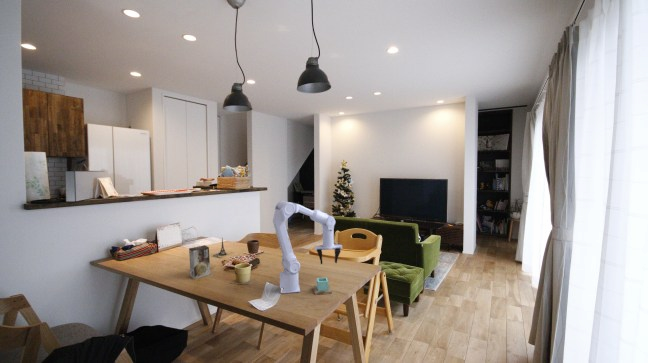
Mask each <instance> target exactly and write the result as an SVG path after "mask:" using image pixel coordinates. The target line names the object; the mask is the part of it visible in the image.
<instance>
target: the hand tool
mask: <svg viewBox="0 0 648 363" xmlns="http://www.w3.org/2000/svg"><path fill="white" fill-rule="evenodd" d="M247 263H249V264H252V265H254V266H256V265H259V264H260V263H261V261H260V258H258V257H254V258H253V259H252V260H250V261H249V260H248V262H247Z"/></svg>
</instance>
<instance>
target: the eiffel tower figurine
mask: <svg viewBox="0 0 648 363" xmlns="http://www.w3.org/2000/svg"><path fill="white" fill-rule="evenodd" d="M227 255H228V254H227V252H226V250H225V248H224V240H223V237H221V248H220V250H219V252H218V253H215V254H213V255H212V257H213V258H217V259H221V257H223V256H227Z"/></svg>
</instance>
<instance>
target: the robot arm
mask: <svg viewBox="0 0 648 363" xmlns="http://www.w3.org/2000/svg"><path fill="white" fill-rule="evenodd" d="M297 213H300V214H303V215H305V216H309V218H310V220H311V221H314V222H315V223H318V224H321V225H322V245H315V246H314V252H315V251H316V252H317V255H318V258H319V262H320V265H323V251H327V250H329V251H330V250H334V263H335V264H337V263H338V260H339V256H340V253H341V250H343V244H335V243H334V242H335V241H334V240H335V239H334V237H335V236H334V235H335V234H334V232H335V231H334V229H335V225H336V220H335V217H334V216H332V215H329V214H328V212H323V211H321V209H318V208H317V209H313V210H312V209H310V208H307V207H305V206H303V205H301V204H299V203H295V202H290V201H286V200H280V201H278V202H277V203H276V205H275V206H274V214H273V219H272V223H273V225H274V229H275V233H276V238H277V239H278V244H279V247H280V249H281V250H280V251H281V253H282V255H281V266H282V268H283V271H281V272H279V287H280V288H283V291H282V293H281V294H290V293H300V292H301V289H300V281H299V279H300V278H299V272H300V269H301V263H300V262H299V260H298V259H297V257H296V254H295V253H294V250H293V247H292V244H291V240H290V237H289V236H290V235H289V233H288V230H287V226H286V221H287V220H288V219H289V218H290V217H292V215H293V214H297ZM280 288H279V289H280Z"/></svg>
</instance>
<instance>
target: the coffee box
mask: <svg viewBox="0 0 648 363" xmlns="http://www.w3.org/2000/svg"><path fill="white" fill-rule="evenodd" d="M188 250H189V251H188V253H189V270H190V272H189V274H190V277H191V278H192V279H193V280H196V279H199V278H203V277H206V276H209V275H211V262H210V247H209V246H208V245H205V244H204V245H199V246H196V247H191V248H190V247H189V248H188Z"/></svg>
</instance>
